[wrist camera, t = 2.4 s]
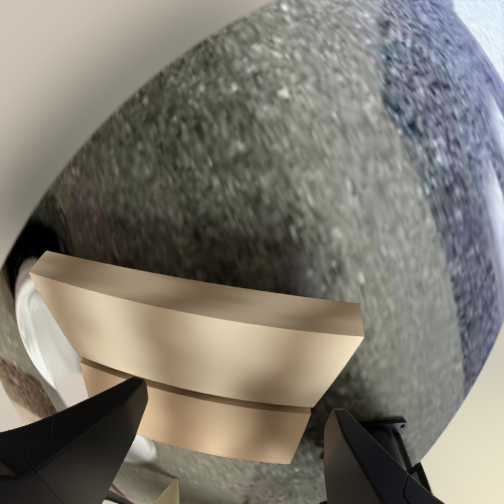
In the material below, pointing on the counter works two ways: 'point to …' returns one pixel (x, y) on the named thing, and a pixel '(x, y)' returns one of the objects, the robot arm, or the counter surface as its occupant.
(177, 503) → the ice cream cone
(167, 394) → the floor strip
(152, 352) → the oak plank
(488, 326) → the counter surface
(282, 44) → the counter surface
